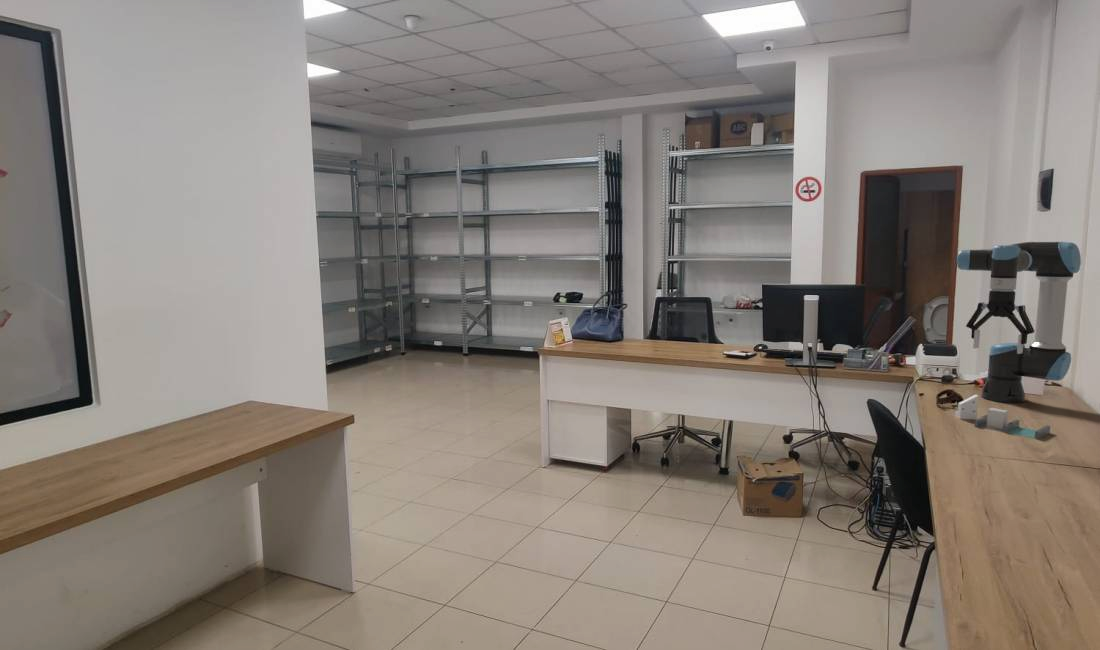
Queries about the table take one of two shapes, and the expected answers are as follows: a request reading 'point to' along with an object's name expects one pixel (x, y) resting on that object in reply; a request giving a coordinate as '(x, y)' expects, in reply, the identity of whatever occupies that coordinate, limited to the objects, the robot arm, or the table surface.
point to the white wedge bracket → (967, 408)
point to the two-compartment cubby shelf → (1014, 428)
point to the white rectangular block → (997, 418)
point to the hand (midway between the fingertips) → (997, 350)
